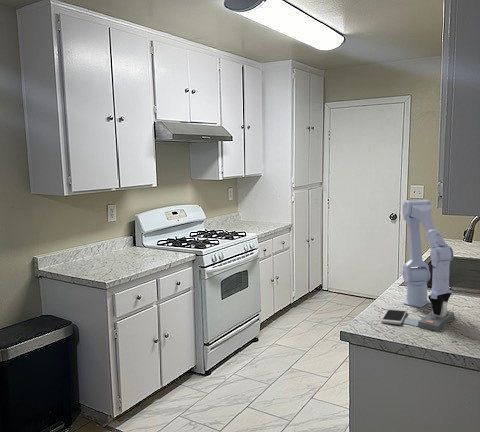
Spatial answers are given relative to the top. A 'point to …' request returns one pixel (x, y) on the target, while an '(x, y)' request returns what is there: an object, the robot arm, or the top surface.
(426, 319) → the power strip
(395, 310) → the smartphone
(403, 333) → the top surface
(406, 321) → the sticky note
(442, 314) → the charger plug
